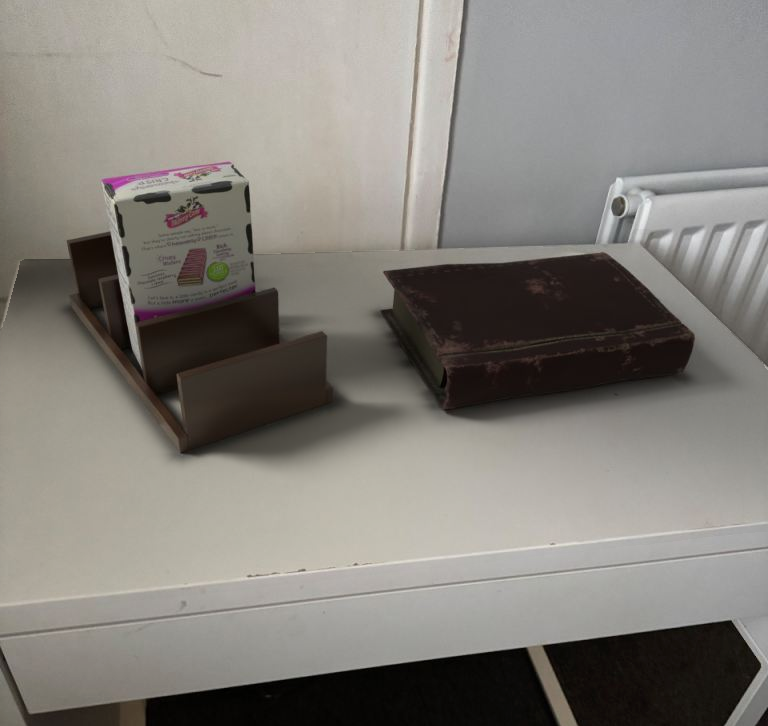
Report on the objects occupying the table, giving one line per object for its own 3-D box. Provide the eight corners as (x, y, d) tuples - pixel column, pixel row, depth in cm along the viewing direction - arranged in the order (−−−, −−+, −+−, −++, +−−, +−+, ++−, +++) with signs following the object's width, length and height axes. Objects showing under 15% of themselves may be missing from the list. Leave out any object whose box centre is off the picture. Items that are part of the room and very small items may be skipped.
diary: (684, 380, 80) (701, 335, 77) (444, 418, 73) (450, 370, 70) (589, 286, 93) (601, 243, 89) (377, 311, 86) (380, 266, 82)
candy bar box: (242, 327, 82) (231, 158, 71) (260, 353, 79) (253, 181, 68) (128, 351, 78) (98, 175, 66) (143, 379, 75) (114, 199, 63)
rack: (72, 308, 82) (57, 241, 78) (207, 275, 89) (202, 212, 84) (180, 453, 68) (170, 381, 63) (333, 401, 74) (335, 333, 69)
